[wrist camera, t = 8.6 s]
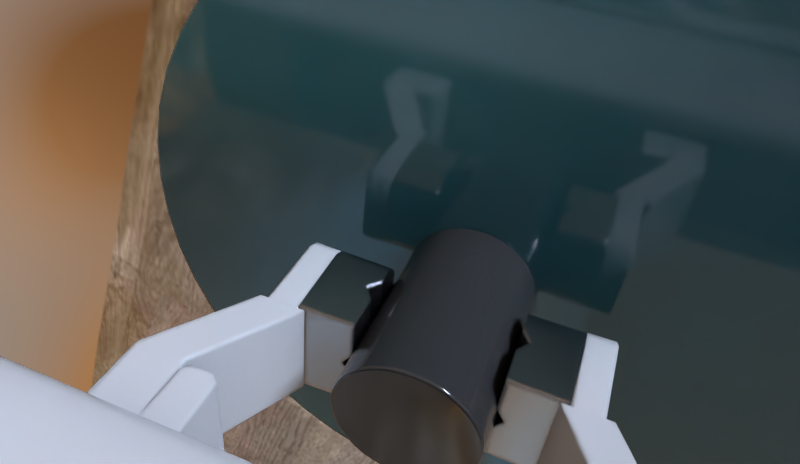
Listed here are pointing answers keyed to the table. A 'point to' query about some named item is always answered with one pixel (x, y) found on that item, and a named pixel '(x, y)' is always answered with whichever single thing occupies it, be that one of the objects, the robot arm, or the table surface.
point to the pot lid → (510, 202)
